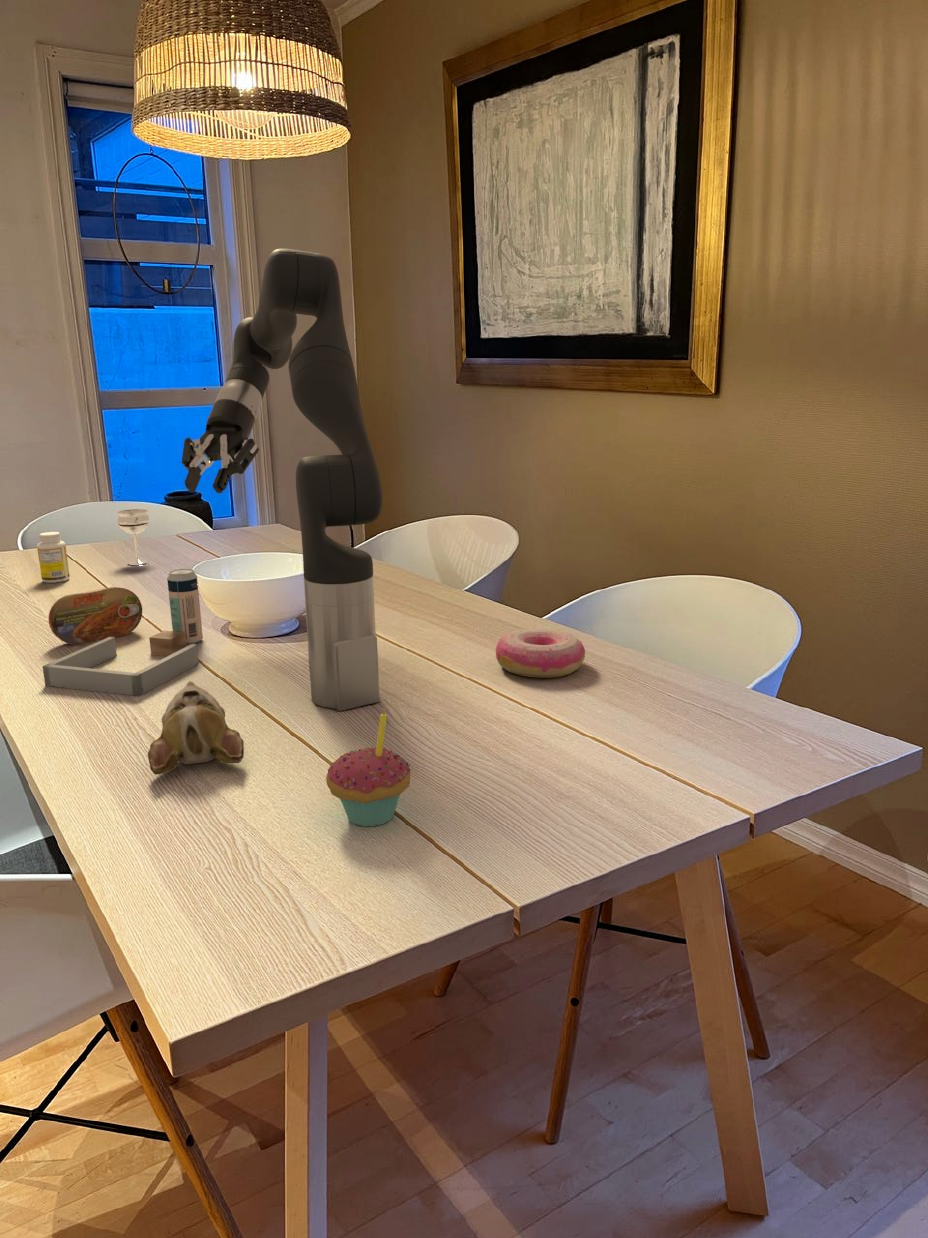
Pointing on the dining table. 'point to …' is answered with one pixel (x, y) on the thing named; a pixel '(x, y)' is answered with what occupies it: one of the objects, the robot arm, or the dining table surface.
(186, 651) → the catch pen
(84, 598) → the tin
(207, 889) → the dining table surface
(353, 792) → the cupcake
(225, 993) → the dining table surface
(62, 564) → the supplement bottle
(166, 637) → the tan wooden block
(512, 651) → the donut
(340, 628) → the robot arm
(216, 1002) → the dining table surface
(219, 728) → the ceramic sculpture
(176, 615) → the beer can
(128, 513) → the wineglass
